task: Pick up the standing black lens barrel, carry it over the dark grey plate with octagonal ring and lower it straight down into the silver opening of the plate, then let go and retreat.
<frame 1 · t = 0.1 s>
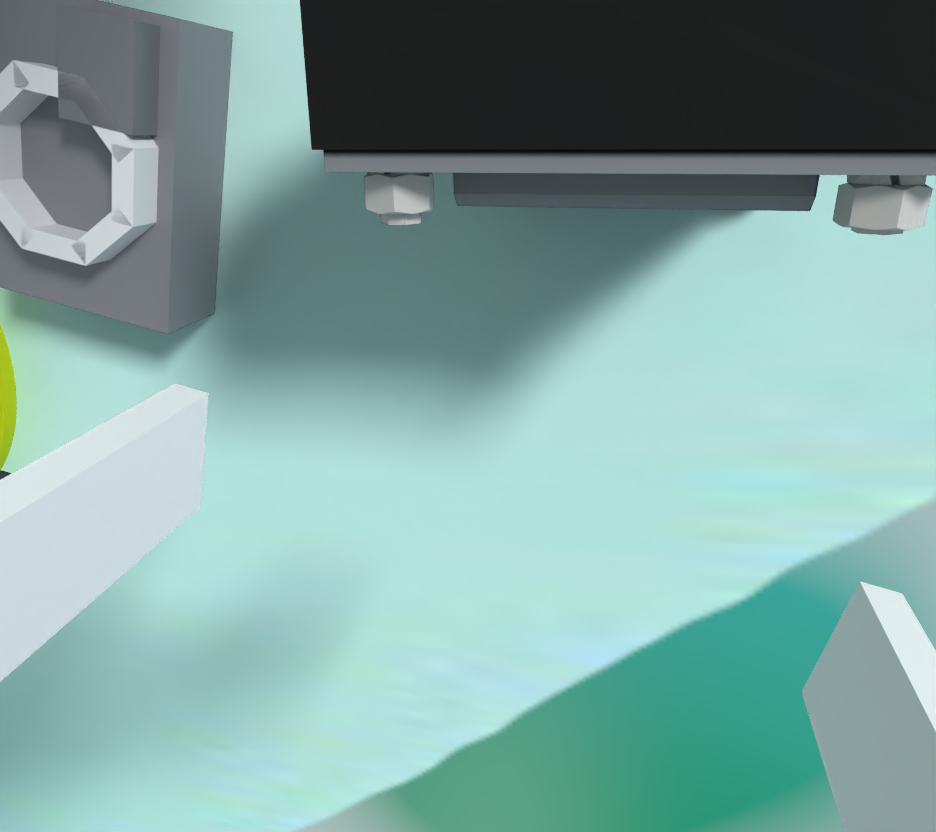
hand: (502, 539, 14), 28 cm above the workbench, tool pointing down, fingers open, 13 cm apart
electrical component: (634, 77, 36), on the workbench
plate with octagonal ring: (137, 162, 43), on the workbench
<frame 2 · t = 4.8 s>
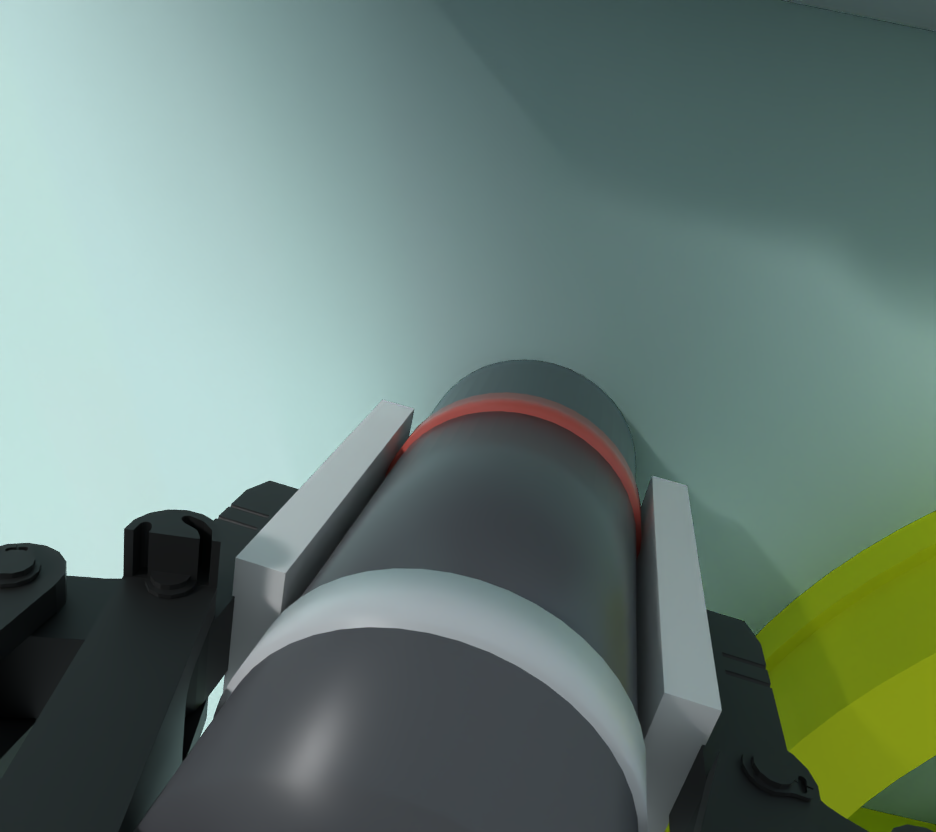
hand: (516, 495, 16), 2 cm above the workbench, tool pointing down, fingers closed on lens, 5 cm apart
lens: (527, 461, 18), on the workbench, touching gripper
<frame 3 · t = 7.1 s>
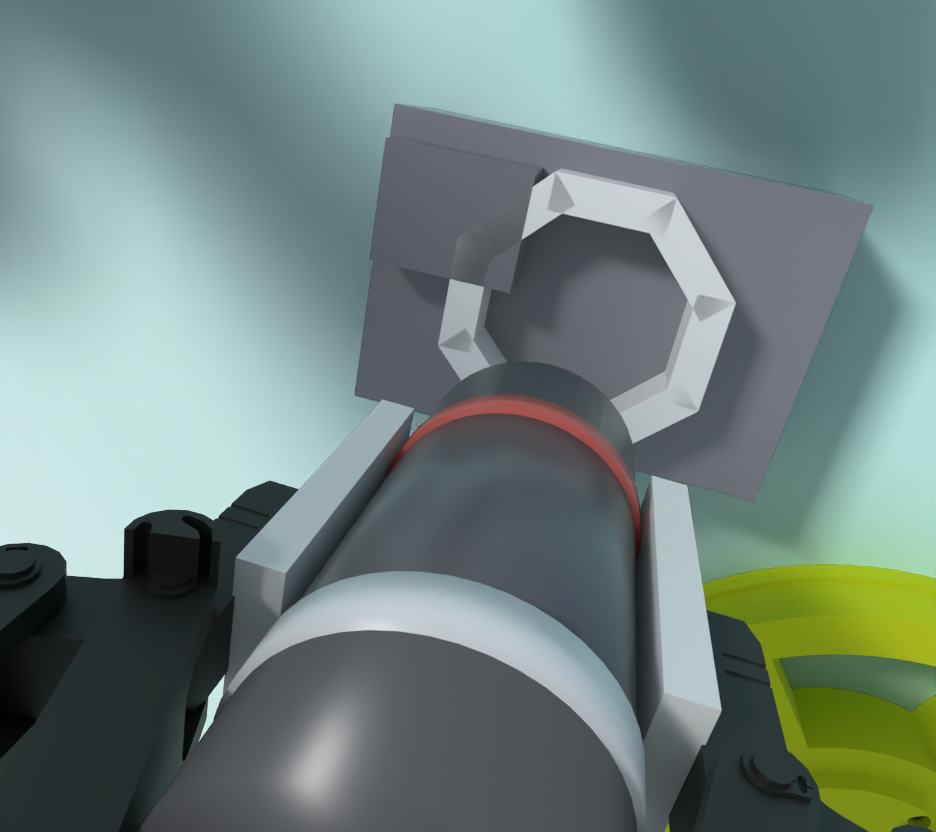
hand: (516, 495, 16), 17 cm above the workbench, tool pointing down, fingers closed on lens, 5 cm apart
lens: (526, 462, 18), point 15 cm above the workbench, touching gripper
pulley: (814, 786, 38), on the workbench
plate with octagonal ring: (590, 285, 31), on the workbench
when the fingers open (8 cm above the workbench, at t = 9.6 s): lens drops 1 cm, resting on plate with octagonal ring.
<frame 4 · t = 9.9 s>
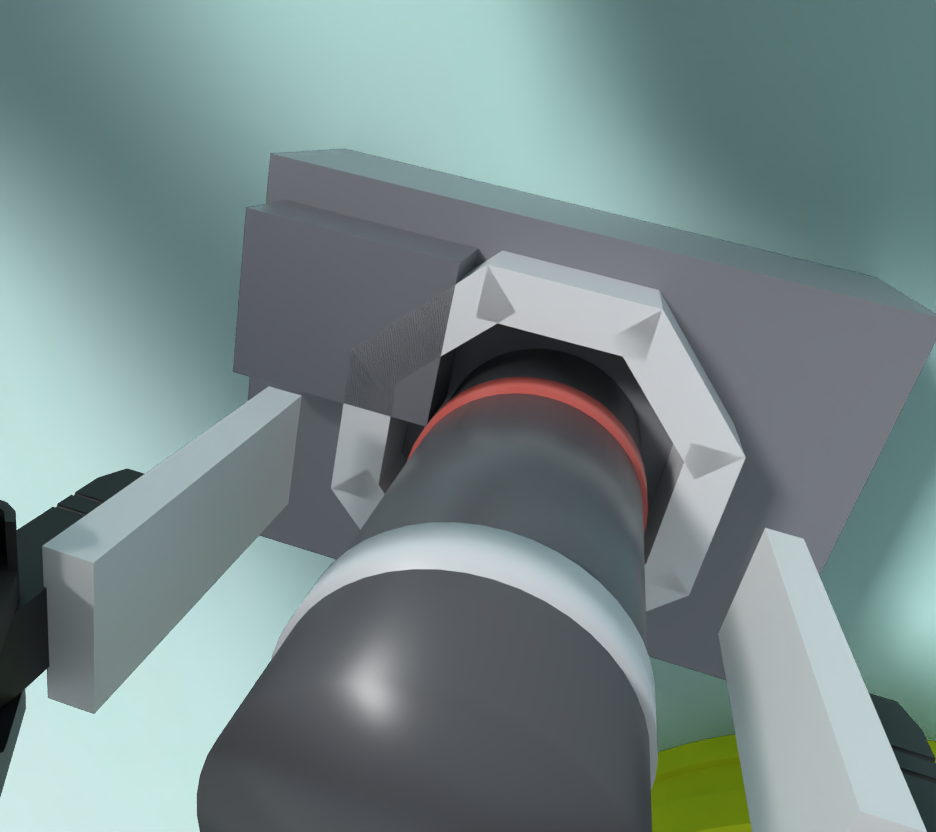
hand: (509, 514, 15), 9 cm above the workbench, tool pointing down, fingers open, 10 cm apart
lens: (539, 444, 19), point 5 cm above the workbench, touching plate with octagonal ring
plate with octagonal ring: (552, 380, 23), on the workbench
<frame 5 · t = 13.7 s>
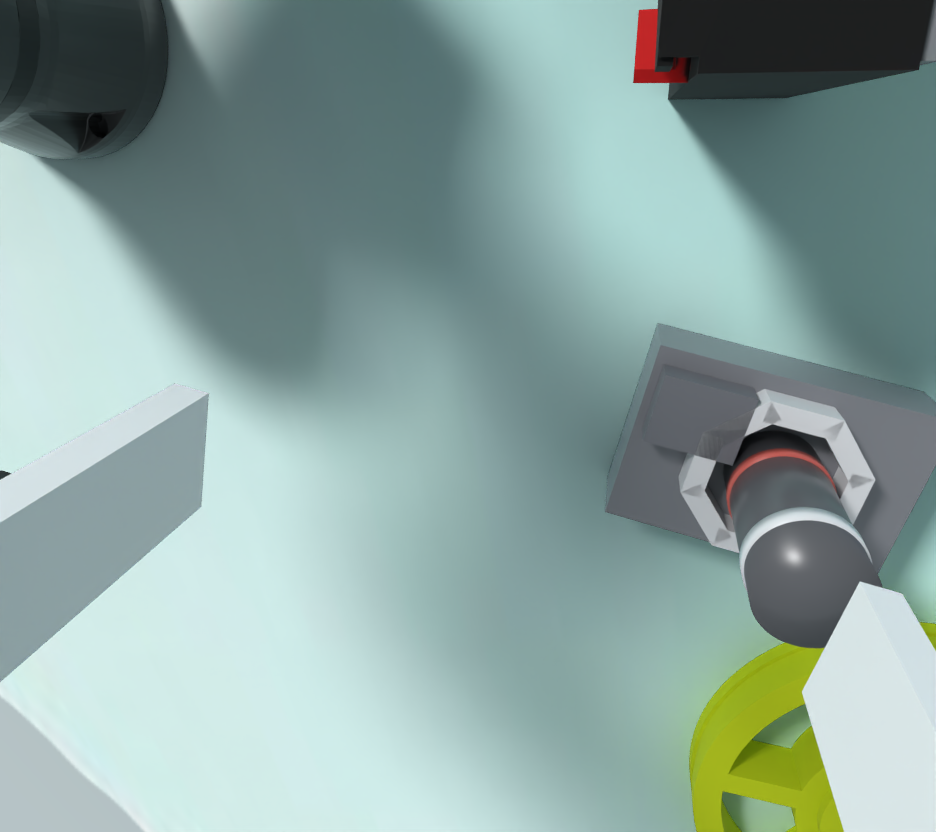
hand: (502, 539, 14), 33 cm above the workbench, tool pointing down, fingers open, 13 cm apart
lens: (771, 472, 41), point 5 cm above the workbench, touching plate with octagonal ring
pulley: (883, 772, 54), on the workbench
plate with octagonal ring: (755, 436, 46), on the workbench
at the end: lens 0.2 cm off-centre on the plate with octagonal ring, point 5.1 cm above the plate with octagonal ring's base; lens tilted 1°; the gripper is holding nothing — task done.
